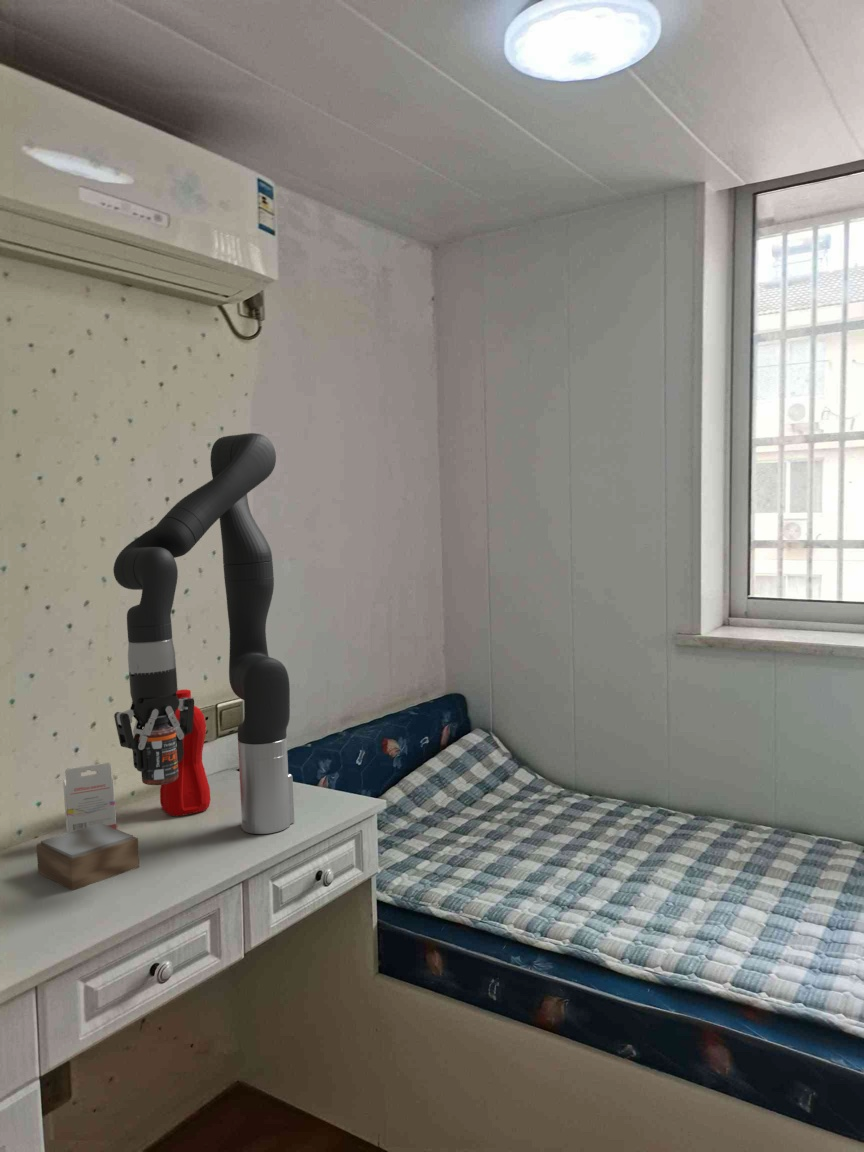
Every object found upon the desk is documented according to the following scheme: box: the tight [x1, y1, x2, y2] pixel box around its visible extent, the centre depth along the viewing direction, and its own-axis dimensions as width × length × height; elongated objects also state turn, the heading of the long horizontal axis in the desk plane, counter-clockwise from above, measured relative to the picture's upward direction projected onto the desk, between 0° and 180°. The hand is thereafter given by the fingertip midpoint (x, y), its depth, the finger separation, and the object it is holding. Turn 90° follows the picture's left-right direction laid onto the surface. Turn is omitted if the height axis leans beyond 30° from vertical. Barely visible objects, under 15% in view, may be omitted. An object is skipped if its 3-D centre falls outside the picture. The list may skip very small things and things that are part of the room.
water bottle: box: [159, 689, 211, 817], centre depth 182 cm, size 9×11×25 cm
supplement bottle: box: [141, 715, 178, 786], centre depth 147 cm, size 6×6×11 cm
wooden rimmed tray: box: [36, 823, 140, 891], centre depth 151 cm, size 12×12×6 cm
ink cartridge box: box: [62, 762, 118, 834], centre depth 166 cm, size 9×5×15 cm, turn 117°
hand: (159, 765), depth 148 cm, fingers closed on supplement bottle, 6 cm apart
